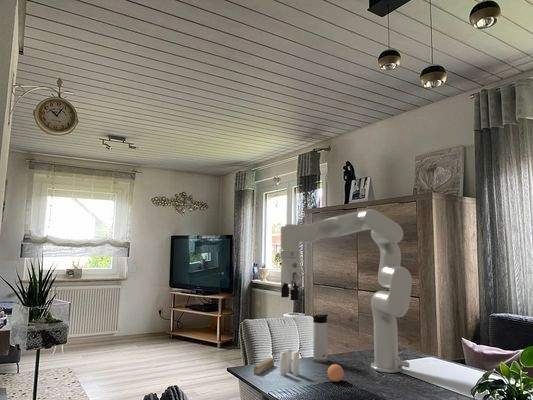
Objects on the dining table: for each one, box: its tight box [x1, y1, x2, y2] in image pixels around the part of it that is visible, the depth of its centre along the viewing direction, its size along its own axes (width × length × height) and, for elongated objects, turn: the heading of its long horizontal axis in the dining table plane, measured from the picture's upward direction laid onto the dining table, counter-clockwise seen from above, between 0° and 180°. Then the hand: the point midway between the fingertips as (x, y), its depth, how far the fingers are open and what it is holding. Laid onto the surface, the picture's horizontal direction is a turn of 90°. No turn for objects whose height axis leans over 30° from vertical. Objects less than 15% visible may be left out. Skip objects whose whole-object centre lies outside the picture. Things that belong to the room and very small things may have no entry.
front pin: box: [292, 351, 300, 377], centre depth 155 cm, size 2×2×8 cm
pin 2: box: [285, 348, 293, 373], centre depth 160 cm, size 2×2×8 cm
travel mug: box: [312, 314, 329, 363], centre depth 177 cm, size 6×7×20 cm
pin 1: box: [279, 351, 288, 377], centre depth 155 cm, size 2×2×8 cm
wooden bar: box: [253, 357, 275, 376], centre depth 161 cm, size 2×14×3 cm, turn 153°
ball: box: [327, 363, 345, 382], centre depth 148 cm, size 6×6×6 cm
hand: (289, 298), depth 157 cm, fingers open, 9 cm apart
